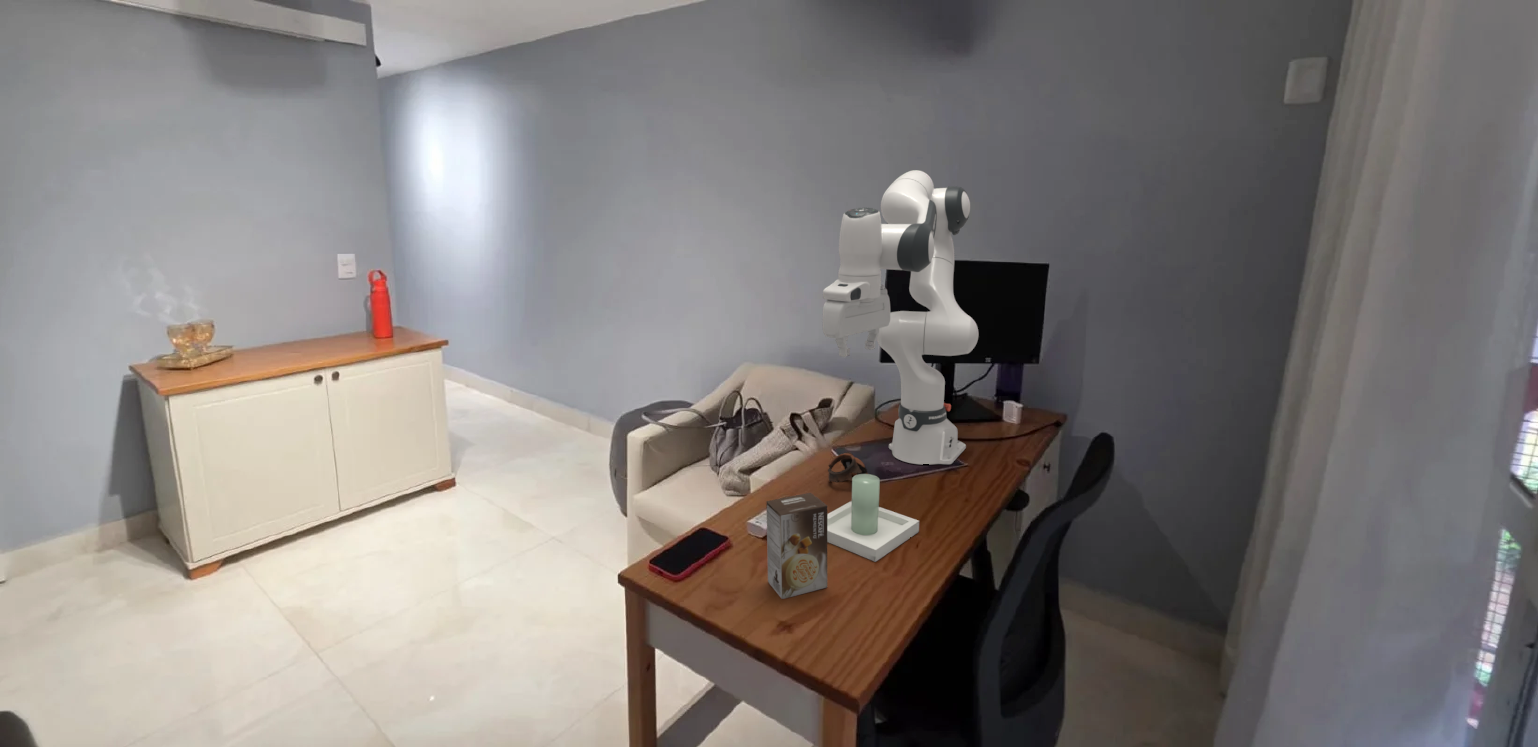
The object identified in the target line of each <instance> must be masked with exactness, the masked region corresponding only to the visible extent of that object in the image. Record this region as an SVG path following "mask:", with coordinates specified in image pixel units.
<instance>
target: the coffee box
mask: <svg viewBox="0 0 1538 747" xmlns="http://www.w3.org/2000/svg"><path fill="white" fill-rule="evenodd" d="M765 504H766V539H767V540H766V542H767V543H766V544H767V546H766V547H767V548H766V550H767V553H766V554H767V583H768V584H769V585H770V586H771V587H772V589H773V590H774V591H775V592H776V594H777V595H778V596H779V597H780V599H782V600H784V599H788V598H792V597H796V596H799V595H803V594H807V593H810V592H815V591H819V590H822V589H826V588H828V542H827V514H828V506H829V505H828V504H826V503H825V502H823V501H822V500H821V499H820V498H819V497H818V496H815V495H814V493H812V492H806V493H801V494H797V495H792V496H786V497H782V498H781V497H780V498H777V499H772V500H766V501H765Z"/></svg>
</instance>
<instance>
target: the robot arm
mask: <svg viewBox="0 0 1538 747" xmlns="http://www.w3.org/2000/svg"><path fill="white" fill-rule="evenodd" d="M934 185H935V184H934V182H933V180H932V178H931V176H929V174H927V173H926V172H924V171H923V170H916V169H914V170H909V171H907V172H905V173H903V174H901V175H899V177H897V178H896V179H895V180H894V181H893V182H892V183H891V184H890V185H889V186H888V188H887V189H886V190H885V191H884V193H883V195H882V198H881V201H880V210H879V209H876V208H873V207H858V208H857V207H856V208H852V209H848V210H847V211H845V212H844V213H843V214H842V218H841V223H840V229H839V241H838V254H839V258H840V259H839V260H840V264H839V265H840V266H839V269H838V272H837V274H838V278H837V279H835V281H833V282H832V283H831V284H829V285H828V286H826V287H825V288H823V290H822V298H823V299H824V300H826V301H825V302H824V304H823V306H822V318H821V320H822V321H821V322H822V332H823V334H824V336H825V338H831V339H835V343H836V345H837V347H838V355H839V357H841V358H846V357H849V356H850V355H851V353H850V352H851V348H850V347H848V345H847V344H848V343H847V342H848V338H849V336H853V335H857V334H862V333H866V332H867V333H868V336H867V339H866V340H865V341H864V349H865V350H868V351H871V350H874V349H875V348H876V341H877V343H878V345H879V347H880V348H881V349H883V351H885V352H886V353H887V354H888V355H889V356H890V357H891V359H892V360H893V361H894V363H895V365H896V366H897V369H898V371H899V376H900V386H901V387H900V395H901V396H900V402H899V406H898V419H896V420H895V422H894V428H893V435H892V436H893V437H892V442H891V443H889V444H888V448H889V450H891V454H892V456H893V457H894V458H896V459H897V460H900V461H902V462H905V463H909V464H914V465H923V464H929V465H952V464H953V463H954V461H956V459H957V458H958V457H959V456H960V455H961V454H962V453H963V452H964V451H965V449H966V448H967V445H966V444H965V443H964V442H962V441H960V440H958V438H959V437H958V436H959V435H958V434H959V432H958V428H957V427H956V426H955V424H954V423H952V422H951V421H950V420H949V419H948V418H947V412H950V411H951V409H952V405H951V403H946V402H945V401H944V400H945V391H946V390H945V385H946V381H945V377H944V376H943V374H942V373H941V372H940V371H939V370H938V369H936V368H934V367H932V366H931V365H929V364H927V363H926V362H925V361H924V359H923V356H924V355H929V356H930V355H931V356H932V355H933V356H945V357H952V356H961V355H968V354H970V353H971V352H972V351H973V349H975V347H976V345H977V343H978V340H979V337H980V336H979V329H978V328H979V327H978V324H977V323H976V321H975V319H973V317H971V316H970V315H968V314H967V313H966V312H965V311H964V310H963V309H962V308H961V307H960V305H959V304H958V302H957V301H956V297H955V295H954V294H955V293H954V272H955V246H954V240H953V237H952V235H953V236H956V235H958V234H959V233H960V230H961V229H963V227H964V226H965V225H966V223H967V221H968V220H969V218H970V214H971V213H970V211H971V201H970V199H969V196H968V193H967V191H966V190H965V189H964V188H963V187H961V186H958V185H957V186H955V185H954V186H953V185H949V186H947V187H939V188H938V187H937V188H935V186H934ZM880 211H881V212H880ZM881 215H882V217H883V219H884V221H885V223H882V218H881ZM882 270H892V271H893V270H895V271H906V272H910V278H909V287H908V289H909V294H910V295H911V297H912V299H914V300H915V302H916V303H918V304H920V305H921V306H923V307H926V308H927V309H928V310H929V311H914V310H913V311H909V310H900V311H899V310H898V311H891V301H890V296H889V294H888V289H887V288H886V287H885V285H884V284H882Z"/></svg>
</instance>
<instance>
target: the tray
mask: <svg viewBox="0 0 1538 747" xmlns="http://www.w3.org/2000/svg"><path fill="white" fill-rule="evenodd" d="M851 510H852V500H850V501H849V502H847V503H845V504H843V505H841V506H840V507H838V508H836V509H834V510H832V511H830V512H829V513H827V543H829V544H832V545H834V546H837V547H839V548H841V549H844V550H845V551H847V552H848V551H849V552H851V553H853V554H856V555H858V556H860V557H863V558H865V559H868V560H870V561H872V562H877V561H879V560H880V559H882V558H883V557H885V556H886V555H887V554H889V553H890V552H892V551H894V550H895V549H896V548H898V547H899V546H900V545H902V544H903V543H905V542H906V541H908V540H909V539H910V537H911V538H912V537H913V536H915V535H916V534H918V533H919V532H920V520H917V519H916V518H912V517H910V516H907V515H904V514H901V513H899V512H896V511H895V512H894V511H892V510H890V509H886V508H884V507H881V506H879V514H878V531H877V532H876V533H875V534H872V535H860V534H856V533H854V532H853V531H852V530H851Z"/></svg>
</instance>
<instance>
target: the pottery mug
mask: <svg viewBox="0 0 1538 747" xmlns="http://www.w3.org/2000/svg"><path fill="white" fill-rule="evenodd" d="M839 462H840V463H841V464H842V466H843V470H840V471H833V468H834V466H835V465H837V464H838V463H839ZM865 465H866V464H865V463H864V462H863V461H862V460H861V459H859V458H858V457H855V456H854V455H853V453H852V452H851V451H850V450H848V451H845V452H844V453H841V454H838V455H836V456H834V458H832V459H831V460H830V461H829V463H828V465H827V466H828V467H829V468H828V469H827V472H828V474H827V475H828V481H829V483H832V482H833V483H837V484H838V483H842V482H845V481H850V482H852V478H853V477H852V474H856V475H859V474H869V473H868V469H867V467H866V466H865Z"/></svg>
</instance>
